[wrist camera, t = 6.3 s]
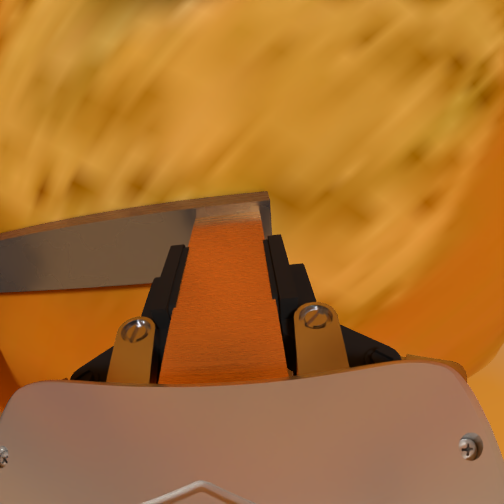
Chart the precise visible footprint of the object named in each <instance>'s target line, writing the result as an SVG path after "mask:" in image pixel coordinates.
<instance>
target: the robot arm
mask: <svg viewBox="0 0 504 504" xmlns="http://www.w3.org/2000/svg"><path fill="white" fill-rule="evenodd" d="M263 245H264V251H265V257H266V263H267V269H268V275H269V281H270V287H271V294H272V299H275V300H276V305H277V311H278V317H279V323H280V329H281V335H282V340H283V346H284V352H285V358H286V364H287V368H288V369H289V370H291V371H293V376H291V377H282V378H272V379H262V380H250V381H237V382H221V383H197V384H158V382H159V376H160V371H161V366H162V360H163V355H164V350H165V345H166V340H167V335H168V330H169V326H170V321H171V316H172V312H173V308H175V307H176V302H177V297H178V293H179V289H180V284H181V280H182V275H183V271H184V267H185V263H186V259H187V254H188V250H189V247H185V245H184V244H182V245H172V246H171V247H170V250H169V252H168V255H167V258H166V261H165V264H164V267H163V270H162V273H161V276H160V277H156V278H154V280H153V282H152V285H151V288H150V291H149V294H148V297H147V300H146V303H145V306H144V309H143V312H142V315H141V317H134V318H131V319H129V320H127V321H126V322H124V323H123V324H122V325H121V326H120V327H119V329H118V332H117V335H116V339H115V343H114V346H113V347H111V348H110V349H108V350H106V351H105V352H103V353H102V354H100V355H99V356H97V357H96V358H94V359H93V360H91V361H90V362H88V363H87V364H85V365H84V366H82V367H81V368H79V369H78V370H77V371H75V372H74V374H73V375H72V376H71V378H70V380H68V379H67V378H65V379H62V380H45V381H38V382H34V383H31V384H28V385H25V386H23V387H21V388H19V389H18V390H17V391H16V392H15V393H14V394H13V395H12V397H11V398H10V400H9V401H8V403H7V405H6V407H5V409H4V411H3V413H2V415H1V417H0V504H504V460H503V458H502V455H501V452H500V449H499V447H498V444H497V441H496V439H495V436H494V434H493V431H492V429H491V427H490V424H489V422H488V420H487V418H486V416H485V414H484V412H483V410H482V408H481V406H480V404H479V402H478V400H477V399H476V397H475V395H474V393H473V391H472V390H471V388H470V387H469V385H468V384H467V375H466V371H465V370H464V368H463V367H462V366H461V365H460V364H458V363H456V362H453V361H448V360H441V359H434V358H427V357H421V356H415V355H409V354H407V355H406V357H401V356H400V355H399V354H398V352H397V351H396V350H394V349H393V348H391V347H389V346H387V345H385V344H382V343H380V342H378V341H376V340H373V339H371V338H369V337H367V336H364V335H362V334H360V333H358V332H355V331H353V330H351V329H349V328H347V327H344V326H342V325H340V323H339V319H338V315H337V313H336V311H335V310H334V309H333V308H332V307H331V306H329V305H327V304H325V303H321V302H316V299H315V296H314V293H313V290H312V287H311V284H310V281H309V278H308V275H307V272H306V269H305V266H304V264H303V263H302V264H292V265H289V262H288V258H287V255H286V251H285V248H284V244H283V240H282V237H281V235H270V236H267V239H265V240H263Z"/></svg>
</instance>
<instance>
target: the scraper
mask: <svg viewBox="0 0 504 504" xmlns="http://www.w3.org/2000/svg"><path fill="white" fill-rule="evenodd" d="M270 235H272V228H271V212H270V199H269V196H268V192H267V191H266V192H255V193H244V194H235V195H225V196H216V197H207V198H199V199H191V200H183V201H176V202H168V203H161V204H154V205H147V206H140V207H134V208H128V209H121V210H115V211H109V212H103V213H98V214H92V215H86V216H81V217H76V218H70V219H65V220H60V221H55V222H50V223H45V224H41V225H36V226H31V227H27V228H22V229H18V230H13V231H9V232H5V233H1V234H0V292H21V291H40V290H58V289H74V288H90V287H104V286H118V285H132V284H145V283H152V282H153V280H154V278H156V277H160V276H161V273H162V270H163V267H164V264H165V261H166V258H167V255H168V252H169V250H170V247H171V246H172V245H182V244H184V245H185V247H189V250H188V254H187V259H186V263H185V267H184V271H183V275H182V280H181V284H180V289H179V293H178V297H177V302H176V307H175V308H173V312H172V316H171V321H170V326H169V330H168V335H167V340H166V345H165V350H164V355H163V360H162V366H161V371H160V376H159V382H158V384H197V383H221V382H237V381H250V380H262V379H272V378H282V377H288V371H287V364H286V358H285V352H284V346H283V340H282V335H281V329H280V323H279V317H278V311H277V305H276V300H275V299H272V294H271V287H270V281H269V275H268V269H267V263H266V257H265V251H264V245H263V240H265V239H267V236H270Z"/></svg>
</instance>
